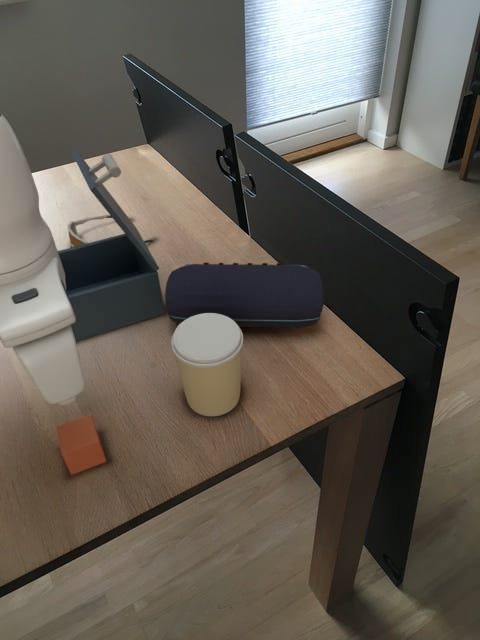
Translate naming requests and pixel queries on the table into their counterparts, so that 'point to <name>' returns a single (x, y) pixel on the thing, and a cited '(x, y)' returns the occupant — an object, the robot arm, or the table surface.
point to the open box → (109, 286)
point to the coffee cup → (209, 362)
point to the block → (80, 444)
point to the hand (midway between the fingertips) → (54, 371)
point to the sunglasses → (72, 225)
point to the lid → (112, 200)
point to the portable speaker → (246, 294)
